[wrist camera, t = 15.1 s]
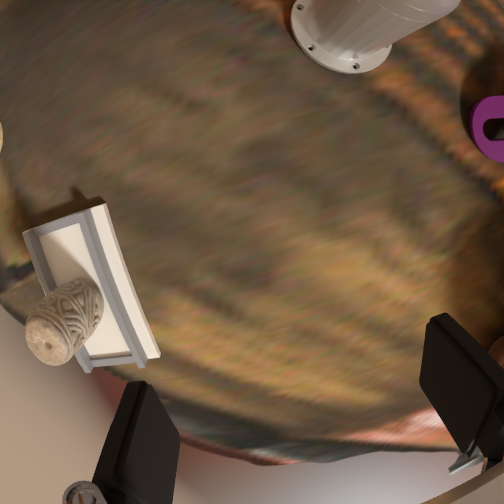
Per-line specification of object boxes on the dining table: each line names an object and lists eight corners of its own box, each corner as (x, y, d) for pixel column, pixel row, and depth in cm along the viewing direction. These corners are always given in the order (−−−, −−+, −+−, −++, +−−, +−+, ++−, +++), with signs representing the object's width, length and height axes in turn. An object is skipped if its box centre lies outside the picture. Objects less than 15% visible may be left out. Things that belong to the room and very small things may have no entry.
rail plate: (26, 230, 35) (14, 237, 32) (106, 202, 35) (96, 207, 32) (83, 361, 42) (76, 373, 40) (160, 353, 42) (156, 366, 39)
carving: (88, 263, 36) (42, 308, 25) (117, 312, 39) (83, 368, 27) (56, 280, 37) (9, 324, 25) (84, 325, 39) (47, 378, 28)
